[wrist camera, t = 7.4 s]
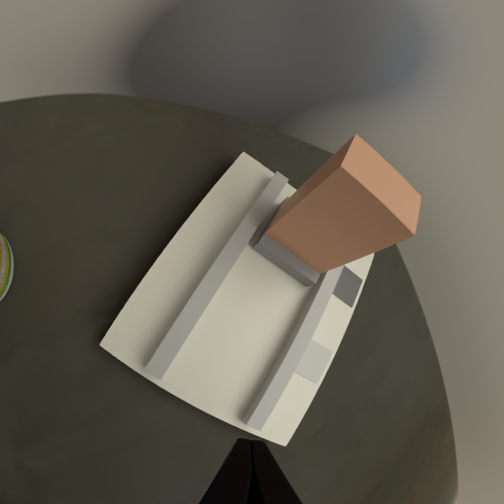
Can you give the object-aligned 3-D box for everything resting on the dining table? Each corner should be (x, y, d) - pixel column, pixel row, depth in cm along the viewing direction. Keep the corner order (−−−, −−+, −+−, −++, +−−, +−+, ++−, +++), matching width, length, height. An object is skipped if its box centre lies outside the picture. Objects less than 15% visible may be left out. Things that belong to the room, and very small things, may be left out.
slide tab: (306, 286, 18) (411, 249, 10) (251, 248, 18) (334, 178, 9) (328, 240, 20) (422, 187, 12) (279, 204, 19) (359, 126, 11)
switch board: (276, 439, 16) (292, 451, 14) (104, 343, 14) (95, 345, 12) (362, 258, 22) (382, 250, 20) (237, 162, 21) (248, 143, 19)
